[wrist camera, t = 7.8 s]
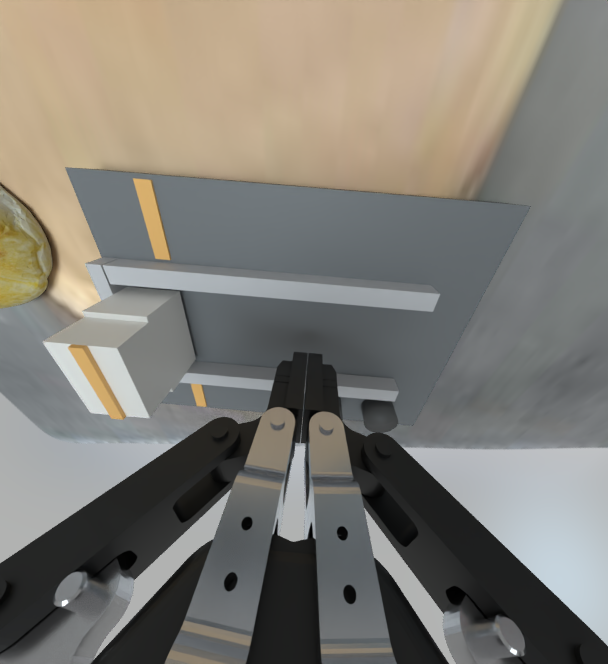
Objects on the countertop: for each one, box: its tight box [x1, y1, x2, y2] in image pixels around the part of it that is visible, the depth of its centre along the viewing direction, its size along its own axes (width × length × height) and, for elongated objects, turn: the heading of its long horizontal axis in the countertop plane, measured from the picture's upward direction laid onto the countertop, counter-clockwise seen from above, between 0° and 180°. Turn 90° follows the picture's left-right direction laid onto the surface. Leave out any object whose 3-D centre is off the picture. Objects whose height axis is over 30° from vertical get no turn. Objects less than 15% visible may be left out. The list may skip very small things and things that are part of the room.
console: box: [65, 167, 531, 433], centre depth 15 cm, size 21×16×4 cm
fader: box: [42, 287, 196, 420], centre depth 12 cm, size 3×5×5 cm, turn 176°
